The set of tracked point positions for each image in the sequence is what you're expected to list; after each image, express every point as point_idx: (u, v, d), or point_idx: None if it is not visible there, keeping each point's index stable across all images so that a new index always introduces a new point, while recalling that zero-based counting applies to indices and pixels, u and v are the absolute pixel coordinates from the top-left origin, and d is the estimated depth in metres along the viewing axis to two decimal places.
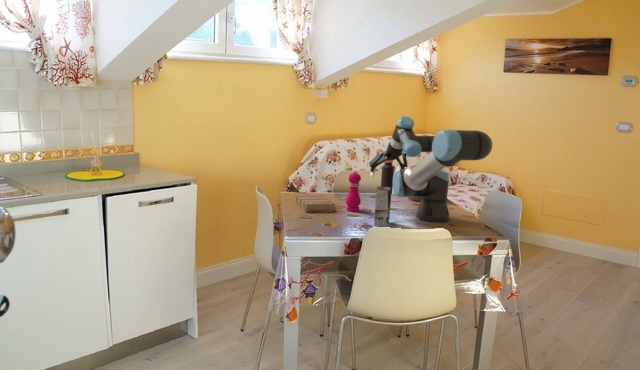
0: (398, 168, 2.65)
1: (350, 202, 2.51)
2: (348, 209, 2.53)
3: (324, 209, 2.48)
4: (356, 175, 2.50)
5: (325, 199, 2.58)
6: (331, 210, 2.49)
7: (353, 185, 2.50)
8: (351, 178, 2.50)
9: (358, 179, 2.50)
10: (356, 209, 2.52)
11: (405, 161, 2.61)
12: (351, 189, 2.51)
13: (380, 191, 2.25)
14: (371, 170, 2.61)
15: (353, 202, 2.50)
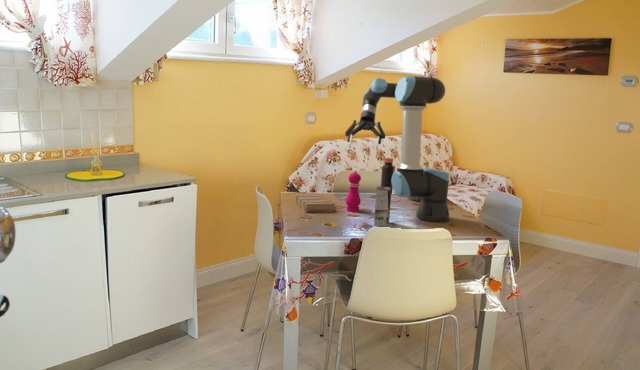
0: (377, 140, 2.64)
1: (350, 202, 2.51)
2: (348, 209, 2.53)
3: (324, 209, 2.48)
4: (356, 175, 2.50)
5: (325, 199, 2.58)
6: (331, 210, 2.49)
7: (353, 185, 2.50)
8: (351, 178, 2.50)
9: (358, 179, 2.50)
10: (356, 209, 2.52)
11: (381, 129, 2.66)
12: (351, 189, 2.51)
13: (380, 191, 2.25)
14: (348, 138, 2.65)
15: (353, 202, 2.50)
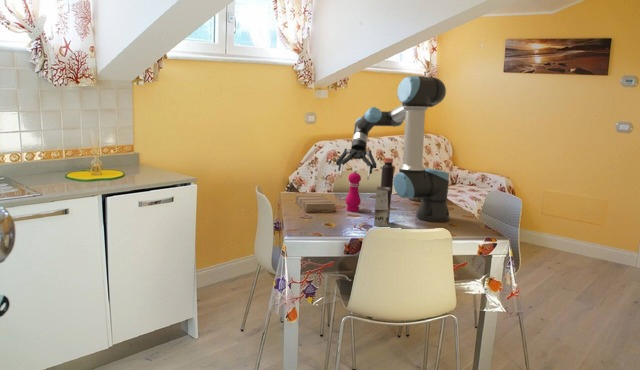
0: (368, 169, 2.59)
1: (350, 202, 2.51)
2: (348, 209, 2.53)
3: (324, 209, 2.48)
4: (356, 175, 2.50)
5: (325, 199, 2.58)
6: (331, 210, 2.49)
7: (353, 185, 2.50)
8: (351, 178, 2.50)
9: (358, 179, 2.50)
10: (356, 209, 2.52)
11: (372, 158, 2.61)
12: (351, 189, 2.51)
13: (380, 191, 2.25)
14: None
15: (353, 202, 2.50)
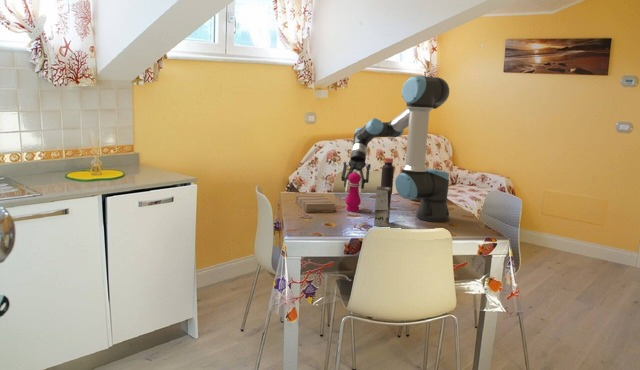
0: (360, 184, 2.52)
1: (350, 202, 2.51)
2: (348, 209, 2.53)
3: (324, 209, 2.48)
4: (356, 175, 2.50)
5: (325, 199, 2.58)
6: (331, 210, 2.49)
7: (353, 185, 2.50)
8: (351, 178, 2.50)
9: (358, 179, 2.50)
10: (356, 209, 2.52)
11: (367, 172, 2.54)
12: (351, 189, 2.51)
13: (380, 191, 2.25)
14: (344, 183, 2.52)
15: (353, 202, 2.50)
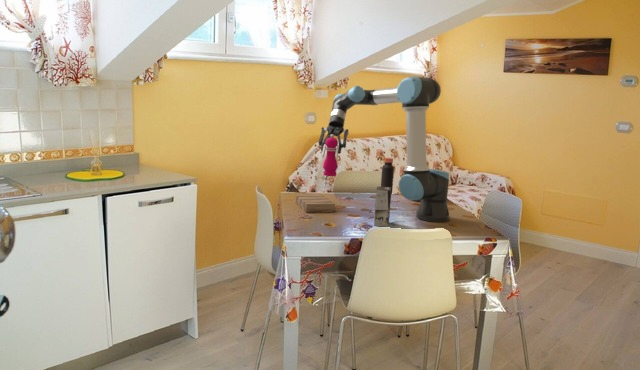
0: (337, 149, 2.52)
1: (327, 166, 2.51)
2: (325, 174, 2.53)
3: (324, 209, 2.48)
4: (333, 139, 2.50)
5: (325, 199, 2.58)
6: (331, 210, 2.49)
7: (330, 149, 2.50)
8: (328, 142, 2.50)
9: (335, 143, 2.50)
10: (333, 174, 2.52)
11: (344, 137, 2.54)
12: (328, 153, 2.52)
13: (380, 191, 2.25)
14: (321, 148, 2.52)
15: (329, 166, 2.51)
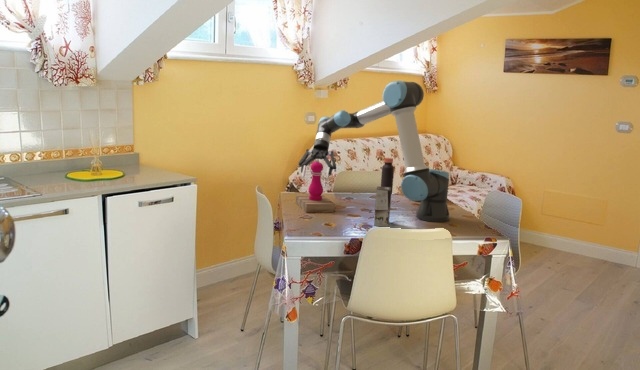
0: None
1: (312, 191, 2.53)
2: (310, 198, 2.54)
3: (324, 209, 2.48)
4: (318, 164, 2.51)
5: (325, 199, 2.58)
6: (331, 210, 2.49)
7: (315, 174, 2.52)
8: (313, 167, 2.51)
9: (320, 168, 2.51)
10: (318, 198, 2.54)
11: (333, 159, 2.56)
12: (313, 178, 2.53)
13: (380, 191, 2.25)
14: (301, 169, 2.55)
15: (315, 191, 2.52)
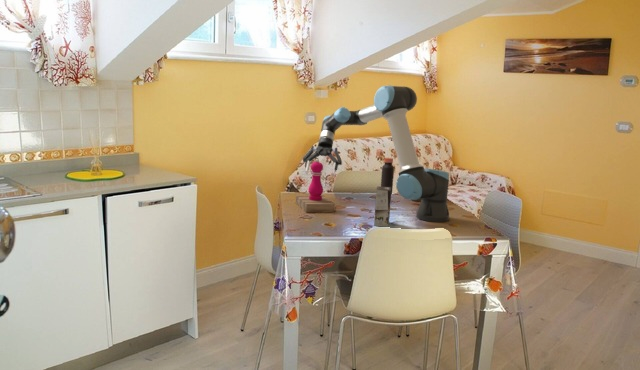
0: None
1: (312, 191, 2.53)
2: (310, 198, 2.54)
3: (324, 209, 2.48)
4: (318, 164, 2.51)
5: (325, 199, 2.58)
6: (331, 210, 2.49)
7: (315, 174, 2.52)
8: (313, 167, 2.51)
9: (320, 168, 2.51)
10: (318, 198, 2.54)
11: (337, 155, 2.69)
12: (313, 178, 2.53)
13: (380, 191, 2.25)
14: (305, 164, 2.68)
15: (315, 191, 2.52)
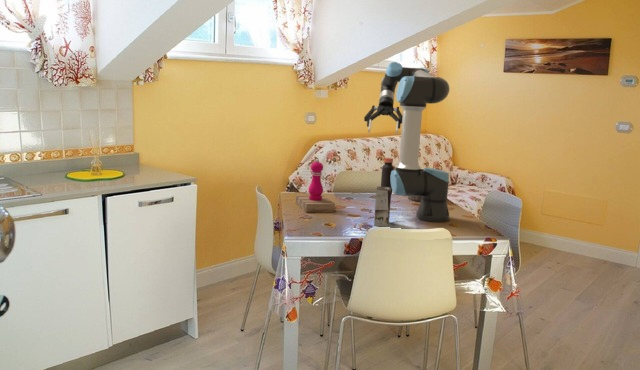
0: None
1: (312, 191, 2.53)
2: (310, 198, 2.54)
3: (324, 209, 2.48)
4: (318, 164, 2.51)
5: (325, 199, 2.58)
6: (331, 210, 2.49)
7: (315, 174, 2.52)
8: (313, 167, 2.51)
9: (320, 168, 2.51)
10: (318, 198, 2.54)
11: (400, 114, 2.65)
12: (313, 178, 2.53)
13: (380, 191, 2.25)
14: (367, 123, 2.65)
15: (315, 191, 2.52)
